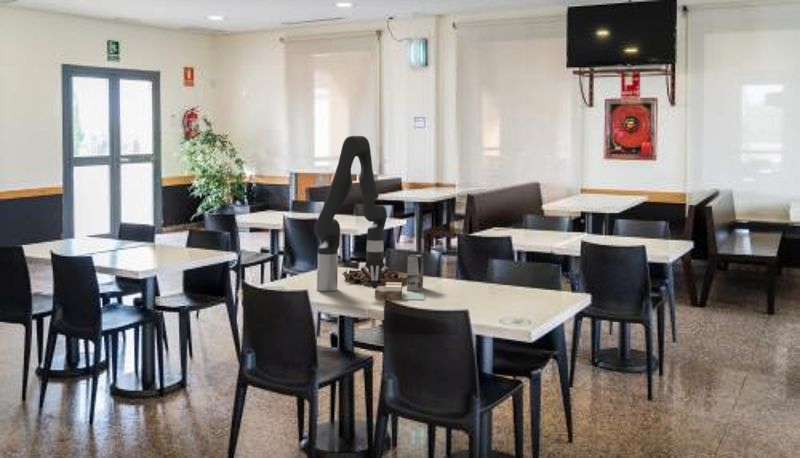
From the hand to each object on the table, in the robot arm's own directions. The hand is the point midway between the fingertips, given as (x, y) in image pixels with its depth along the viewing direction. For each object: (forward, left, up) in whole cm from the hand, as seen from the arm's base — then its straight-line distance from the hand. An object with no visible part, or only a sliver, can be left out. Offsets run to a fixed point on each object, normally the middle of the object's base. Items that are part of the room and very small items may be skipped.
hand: (374, 288), depth 372 cm
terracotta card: (+8, +7, -1) cm, 11 cm away
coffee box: (+18, +23, -4) cm, 29 cm away
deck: (+6, +4, -4) cm, 8 cm away
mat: (+17, +4, -4) cm, 18 cm away
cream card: (+8, 0, -1) cm, 9 cm away
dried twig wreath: (-1, +42, -5) cm, 42 cm away
